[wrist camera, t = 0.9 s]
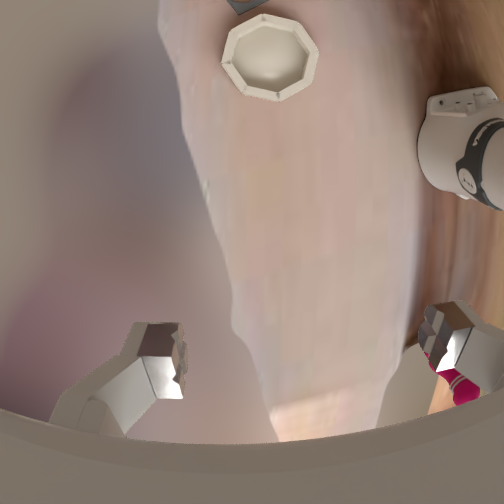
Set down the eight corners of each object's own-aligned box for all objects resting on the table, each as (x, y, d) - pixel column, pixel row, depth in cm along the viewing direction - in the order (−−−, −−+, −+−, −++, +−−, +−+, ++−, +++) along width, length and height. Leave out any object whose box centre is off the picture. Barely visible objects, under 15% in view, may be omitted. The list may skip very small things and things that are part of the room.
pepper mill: (426, 335, 58) (469, 402, 40) (451, 330, 58) (495, 391, 40) (418, 359, 61) (454, 424, 43) (442, 353, 61) (480, 414, 43)
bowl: (282, 8, 33) (284, 2, 31) (327, 75, 37) (333, 73, 35) (208, 48, 35) (206, 43, 33) (255, 115, 40) (256, 115, 37)
